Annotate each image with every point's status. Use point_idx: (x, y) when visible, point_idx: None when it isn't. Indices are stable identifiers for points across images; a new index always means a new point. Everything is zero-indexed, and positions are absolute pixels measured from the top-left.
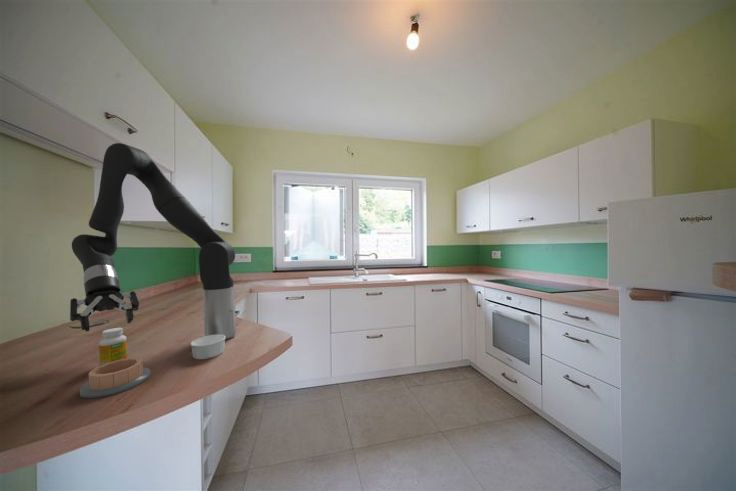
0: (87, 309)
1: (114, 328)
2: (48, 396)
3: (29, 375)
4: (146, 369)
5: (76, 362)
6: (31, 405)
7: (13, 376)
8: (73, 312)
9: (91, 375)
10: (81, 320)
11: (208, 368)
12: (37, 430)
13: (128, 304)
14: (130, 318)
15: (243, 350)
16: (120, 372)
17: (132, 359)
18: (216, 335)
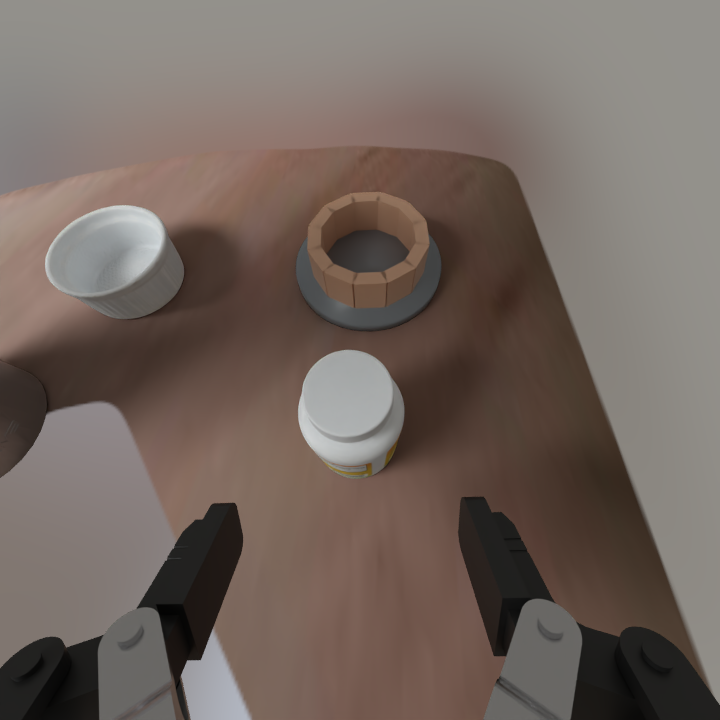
0: (545, 712)
1: (334, 423)
2: (501, 320)
3: None
4: (302, 267)
5: (476, 658)
6: (523, 295)
7: None
8: (678, 689)
9: (422, 219)
10: (536, 577)
11: (204, 195)
12: (485, 182)
13: (101, 688)
14: (215, 505)
15: None
16: (366, 193)
17: (325, 257)
18: (54, 277)
